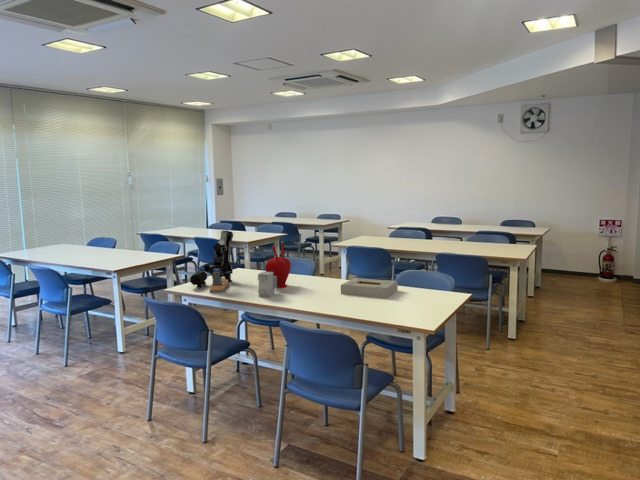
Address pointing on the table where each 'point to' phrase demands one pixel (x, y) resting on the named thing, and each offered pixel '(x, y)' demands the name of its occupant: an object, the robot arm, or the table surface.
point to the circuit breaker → (267, 284)
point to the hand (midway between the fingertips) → (216, 277)
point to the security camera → (198, 278)
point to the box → (369, 288)
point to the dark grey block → (217, 278)
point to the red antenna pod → (279, 268)
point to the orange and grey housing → (219, 286)
